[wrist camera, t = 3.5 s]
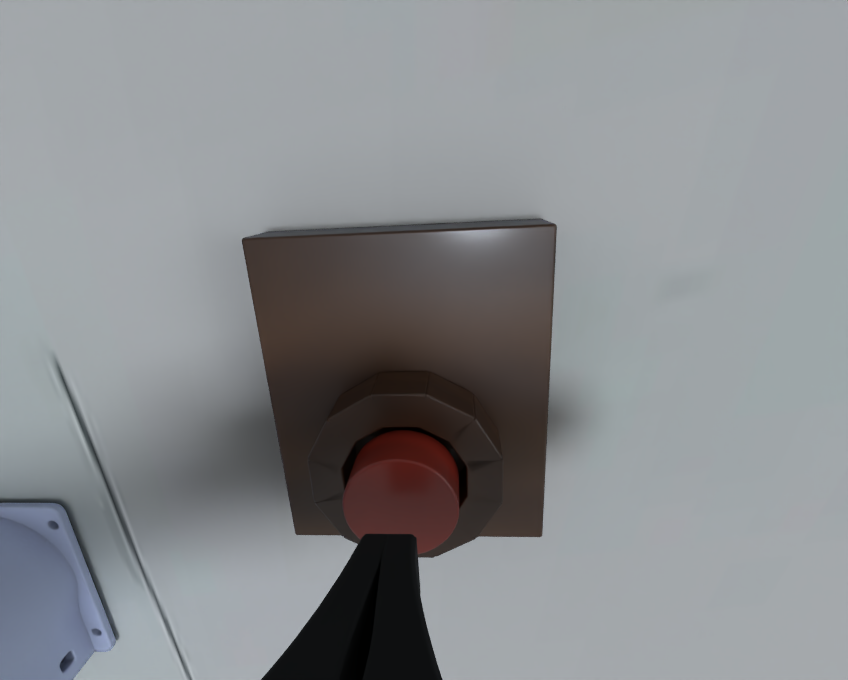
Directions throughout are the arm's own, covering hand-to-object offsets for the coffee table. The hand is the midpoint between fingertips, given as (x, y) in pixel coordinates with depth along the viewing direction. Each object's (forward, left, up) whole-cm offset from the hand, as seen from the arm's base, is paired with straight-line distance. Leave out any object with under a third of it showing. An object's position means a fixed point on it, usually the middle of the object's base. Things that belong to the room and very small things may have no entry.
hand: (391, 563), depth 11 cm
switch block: (+2, 0, -7) cm, 8 cm away
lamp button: (0, 0, -4) cm, 4 cm away
